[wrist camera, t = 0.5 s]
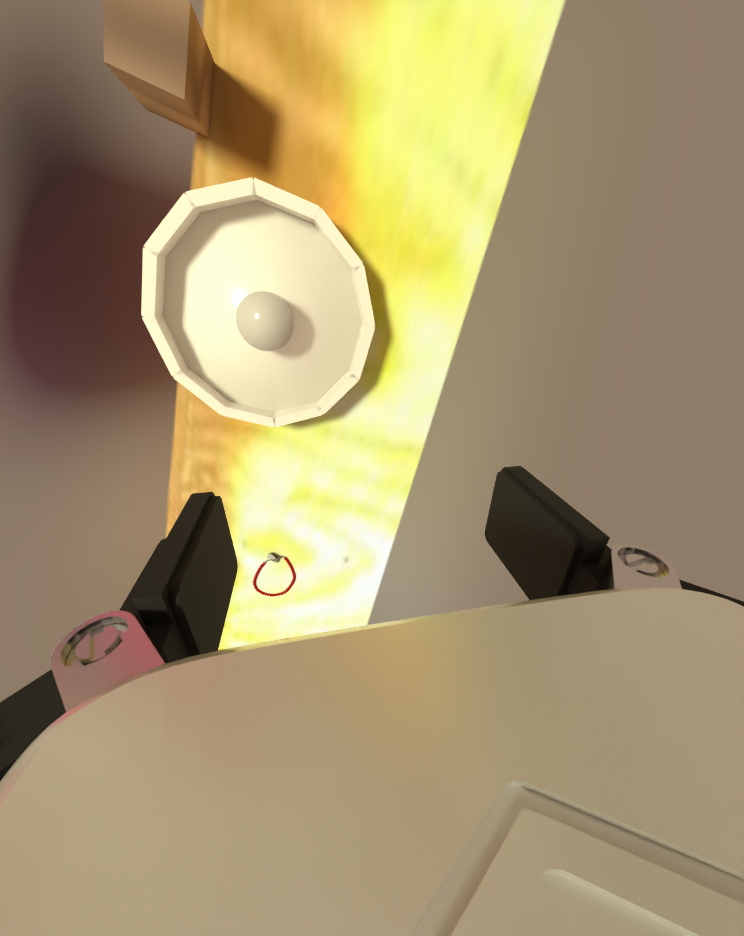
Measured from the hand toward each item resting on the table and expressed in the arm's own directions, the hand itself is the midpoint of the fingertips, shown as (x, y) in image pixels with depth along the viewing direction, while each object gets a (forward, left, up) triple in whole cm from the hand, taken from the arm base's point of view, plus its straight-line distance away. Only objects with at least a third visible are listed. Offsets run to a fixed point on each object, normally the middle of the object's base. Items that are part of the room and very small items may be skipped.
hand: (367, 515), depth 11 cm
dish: (-2, -6, -28) cm, 29 cm away
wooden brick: (-16, -15, -28) cm, 36 cm away
